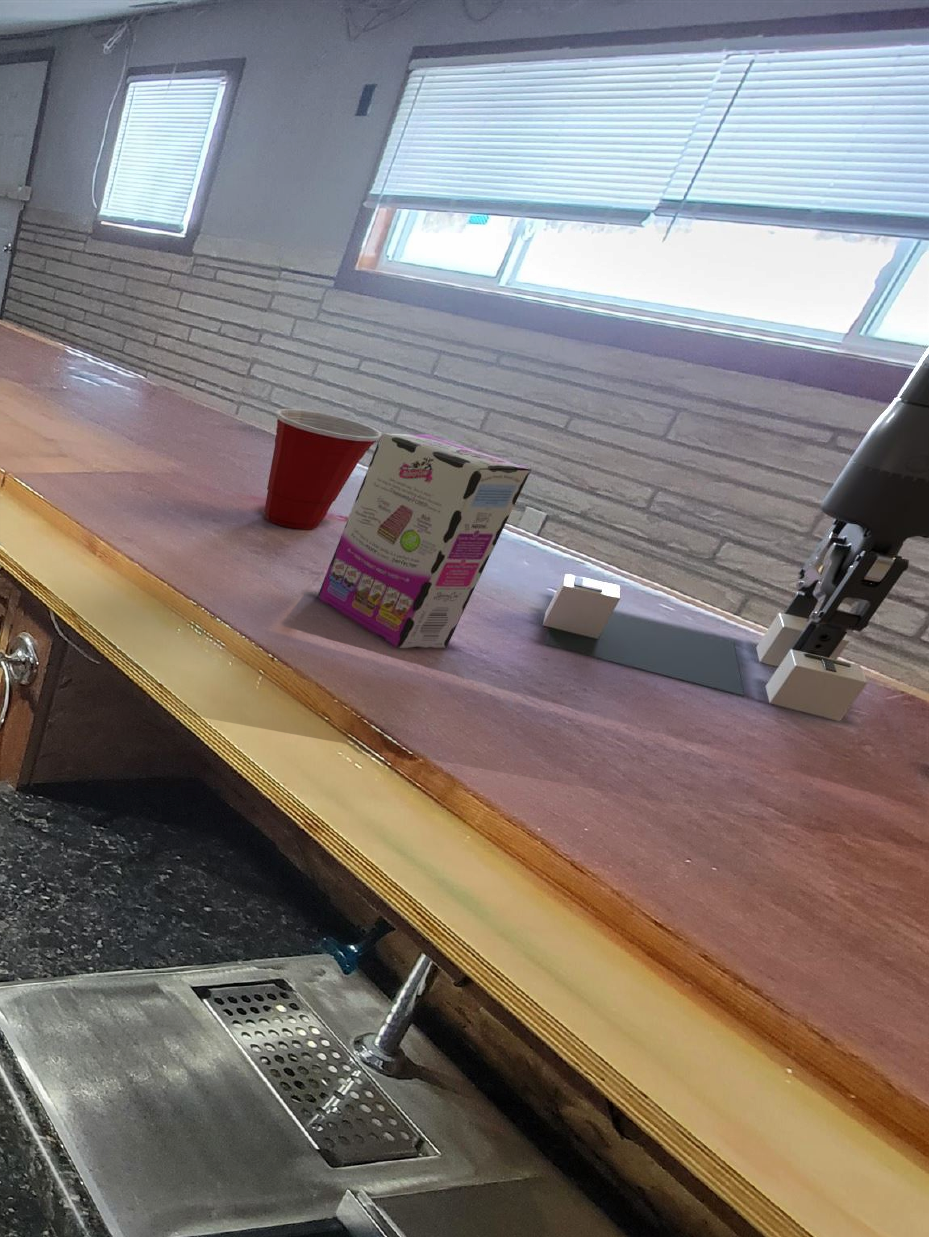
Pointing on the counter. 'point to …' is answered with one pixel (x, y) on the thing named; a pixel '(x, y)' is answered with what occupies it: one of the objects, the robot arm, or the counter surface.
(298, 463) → the plastic cup
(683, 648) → the word mat
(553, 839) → the counter surface
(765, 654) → the tile
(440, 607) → the candy bar box
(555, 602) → the tile
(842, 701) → the tile
